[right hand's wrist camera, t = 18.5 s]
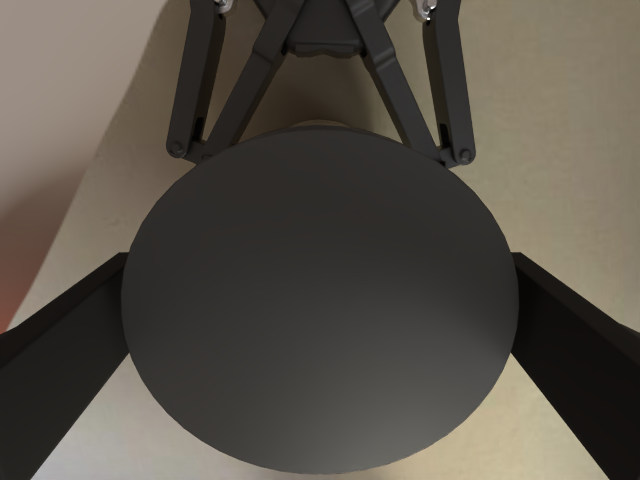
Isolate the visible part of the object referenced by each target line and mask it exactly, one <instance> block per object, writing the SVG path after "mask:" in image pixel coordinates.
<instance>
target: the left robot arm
mask: <svg viewBox="0 0 640 480" xmlns="http://www.w3.org/2000/svg"><path fill="white" fill-rule="evenodd" d="M237 1H238V0H190V6H191V15H190V21H189V26H188V31H187V36H186V42H185V47H184V52H183V57H182V63H181V68H180V73H179V79H178V84H177V89H176V94H175V100H174V105H173V110H172V115H171V121H170V126H169V131H168V136H167V142H166V149H167V152H168V153H169V154H170V155H171V156H172V157H174V158H183V159H185V160H188V161H191V162H193V163H195V164H197V165H198V164H200V163H201V162H203V161H205V160H207V159H208V158H210V157H212V156H214V155H215V154H217V153H219V152H221V151H222V150H224V149H227V148H229V147H231V146H233V145H236V144H237V143H238V141H239V140H240V138H241V136H242V134H243V132H244V130H245V129H246V127H247V125H248V123H249V121H250V119H251V118H252V116H253V114H254V112H255V110H256V108H257V106H258V105H259V103H260V101H261V99H262V97H263V95H264V94H265V92H266V90H267V88H268V86H269V84H270V83H271V81H272V79H273V77H274V75H275V73H276V72H277V70H278V69H279V68H280V66H281V65H282V63H283V61H284V59H285V57H286V56H287V54H288V52H290V53H292V54H295V55H296V56H297V57H313V56H317V55H320V54H327V55H330V56H333V57H336V58H351V57H352V56H355V55H357V54H359V55H360V57H361V59H362V61H363V63H364V65H365V67H366V69H367V71H368V72H369V73H370V75H371V77H372V79H373V81H374V84H375V86H376V88H377V90H378V92H379V94H380V96H381V98H382V100H383V102H384V104H385V107H386V109H387V111H388V113H389V115H390V117H391V119H392V121H393V123H394V125H395V128H396V130H397V132H398V134H399V136H400V138H401V140H402V142H403V144H404V145H406V146H408V147H410V148H412V149H414V150H416V151H418V152H420V153H422V154H425V155H427V156H429V157H431V158H432V159H434V160H435V161H437V162H438V163H440V164H441V165H442V166H444V167H445V168H447V169H449V168H452V167H455V166H458V165H468V164H470V163H471V162H472V161H473V160H474V158H475V156H476V150H475V142H474V135H473V128H472V120H471V113H470V106H469V98H468V91H467V84H466V76H465V69H464V62H463V54H462V47H461V39H460V32H459V25H458V15H459V9H460V4H461V0H409V1H410V3H411V4H412V7H413V15H414V17H415V19H416V20H417V21H419V22H421V23H423V44H424V50H425V56H426V62H427V68H428V74H429V80H430V86H431V92H432V98H433V104H434V110H435V116H436V122H437V128H438V134H439V140H440V146H437V147H436V145H435V143H434V141H433V138H432V136H431V134H430V132H429V130H428V127H427V125H426V123H425V121H424V118H423V116H422V114H421V112H420V110H419V107H418V105H417V103H416V101H415V98H414V96H413V94H412V92H411V89H410V87H409V85H408V83H407V81H406V78H405V76H404V74H403V72H402V69H401V67H400V65H399V63H398V60H397V58H396V53H395V49H394V46H393V44H392V41H391V39H390V37H389V35H388V33H387V30H386V28H385V26H384V22H385V21H386V20H387V18H388V17H389V15H390V14H391V13H392V11H393V10H394V8H395V7H396V6H397V4H398V3H399V2H400V0H253V1H254V3H255V4H256V6H257V7H258V9H259V11H260V12H261V14H262V15H263V17H264V18H265V20H266V22H265V24H264V26H263V27H262V29H261V31H260V33H259V35H258V37H257V39H256V41H255V43H254V46H253V50H252V53H251V56H250V58H249V60H248V61H247V63H246V65H245V67H244V69H243V71H242V73H241V75H240V77H239V79H238V81H237V83H236V85H235V87H234V89H233V91H232V93H231V95H230V97H229V98H228V100H227V102H226V104H225V106H224V108H223V110H222V112H221V114H220V116H219V118H218V120H217V122H216V124H215V126H214V128H213V130H212V132H211V133H210V135H209V137H208V139H207V141H205V140H202V136H203V131H204V127H205V122H206V118H207V113H208V109H209V104H210V100H211V95H212V91H213V86H214V82H215V77H216V73H217V68H218V63H219V59H220V54H221V50H222V45H223V41H224V36H225V28H226V17H229V16H231V15H233V14H234V12H235V10H236V6H237Z"/></svg>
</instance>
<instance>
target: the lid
mask: <svg viewBox="0 0 640 480" xmlns="http://www.w3.org/2000/svg"><path fill="white" fill-rule="evenodd" d="M518 313H519V291H518V280H517V275H516V270H515V265H514V261H513V257H512V255H511V252H510V249H509V247H508V244H507V241H506V239H505V236H504V234H503V232H502V231H501V229H500V227H499V225H498V224H497V222H496V220H495V218H494V217H493V215H492V213H491V212H490V211H489V210H488V208H487V207H486V206H485V205H484V203H483V202H482V201H481V200H480V198H479V197H478V196H477V194H476V193H475V192H474V191H473V190H472V189H471V188H469V187H468V186H467V185H466V184H465V183H464V182H463V181H462V180H461V179H460V178H459V177H458V176H456V175H455V174H454V173H453V172H451V171H450V170H448V169H447V168H445V167H444V166H442V165H441V164H440V163H438V162H437V161H435V160H434V159H432V158H431V157H429V156H427V155H425V154H422V153H420V152H418V151H416V150H414V149H412V148H410V147H408V146H406V145H404V144H402V143H400V142H397V141H395V140H393V139H390V138H388V137H385V136H382V135H379V134H375V133H372V132H369V131H366V130H361V129H356V128H350V127H344V126H335V125H306V126H296V127H287V128H283V129H279V130H275V131H271V132H267V133H263V134H260V135H258V136H255V137H253V138H250V139H248V140H245V141H243V142H240V143H238V144H236V145H233V146H231V147H229V148H227V149H224V150H222V151H221V152H219V153H217V154H215V155H214V156H212V157H210V158H208V159H207V160H205V161H203V162H201V163H200V164H198V165H197V166H195V167H194V168H193V169H191V170H190V171H189V172H188V173H186V174H185V175H184V176H182V177H181V178H180V179H179V180H177V181H176V182H175V183H174V184H173V185H172V186H171V187H170V188H169V189H168V190H167V191H166V193H165V194H164V195H163V196H162V197H161V198H160V199H159V200H158V201H157V202H156V204H155V205H154V206H153V208H152V209H151V211H150V212H149V214H148V215H147V217H146V218H145V220H144V221H143V222H142V224H141V226H140V228H139V230H138V232H137V234H136V237H135V239H134V241H133V243H132V245H131V247H130V251H129V254H128V257H127V261H126V264H125V267H124V272H123V280H122V287H121V318H122V324H123V330H124V336H125V340H126V343H127V346H128V349H129V352H130V355H131V358H132V361H133V363H134V365H135V367H136V369H137V371H138V373H139V375H140V377H141V379H142V381H143V382H144V384H145V385H146V387H147V388H148V390H149V391H150V393H151V394H152V396H153V397H154V398H155V399H156V401H157V402H158V403H159V404H160V405H161V406H162V407H163V409H164V410H165V411H166V412H167V413H168V414H169V415H170V416H171V417H172V418H173V419H174V420H175V421H177V422H178V423H179V424H180V425H181V426H182V427H183V428H184V429H186V430H187V431H189V432H190V433H191V434H193V435H194V436H195V437H197V438H198V439H200V440H201V441H203V442H204V443H206V444H208V445H210V446H211V447H213V448H215V449H217V450H218V451H220V452H223V453H225V454H227V455H229V456H232V457H234V458H236V459H239V460H241V461H244V462H247V463H250V464H254V465H257V466H260V467H264V468H268V469H273V470H278V471H283V472H291V473H299V474H323V475H325V474H340V473H350V472H356V471H362V470H368V469H372V468H375V467H379V466H383V465H387V464H390V463H393V462H395V461H398V460H401V459H403V458H406V457H409V456H411V455H413V454H415V453H417V452H419V451H421V450H423V449H425V448H427V447H429V446H430V445H432V444H434V443H435V442H437V441H438V440H440V439H441V438H443V437H445V436H446V435H447V434H449V433H450V432H451V431H453V430H454V429H455V428H456V427H458V426H459V425H460V424H461V423H463V422H464V421H465V420H466V419H467V418H468V417H469V416H470V415H471V414H472V413H473V412H474V411H475V410H476V409H477V408H478V407H479V405H480V404H481V403H482V401H483V400H484V399H485V398H486V396H487V395H488V394H489V392H490V391H491V390H492V388H493V386H494V385H495V383H496V381H497V380H498V378H499V376H500V375H501V373H502V371H503V369H504V367H505V364H506V362H507V359H508V357H509V355H510V352H511V350H512V346H513V342H514V338H515V334H516V330H517V323H518Z"/></svg>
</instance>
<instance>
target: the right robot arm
mask: <svg viewBox="0 0 640 480" xmlns="http://www.w3.org/2000/svg"><path fill="white" fill-rule="evenodd" d="M128 254H129V252H119V253H118V254H116V255H115V256H114V257H112V258H111V259H109V260H108V261H107V262H105V263H104V264H103V265H101V266H100V267H98V268H97V269H96V270H94V271H93V272H91V273H90V274H89V275H87V276H86V277H85V278H83V279H82V280H80V281H79V282H78V283H76V284H75V285H73V286H72V287H71V288H69V289H68V290H67V291H65V292H64V293H62V294H61V295H60V296H58V297H57V298H55V299H54V300H53V301H51V302H50V303H49V304H47V305H46V306H44V307H43V308H42V309H40V310H39V311H37V312H36V313H35V314H33V315H32V316H31V317H29V318H28V319H26V320H25V321H24V322H22V323H21V324H19V325H18V326H17V327H15V328H13V329H11V330H9V331H6V332H4V333H2V334H0V480H30V479H31V478H32V477H33V476H34V474H35V473H36V472H37V470H38V469H39V468H40V467H41V465H42V464H43V463H44V461H45V460H46V459H47V458H48V456H49V455H50V454H51V452H52V451H53V450H54V449H55V447H56V446H57V445H58V443H59V442H60V441H61V440H62V438H63V437H64V436H65V434H66V433H67V432H68V431H69V429H70V428H71V427H72V425H73V424H74V423H75V422H76V420H77V419H78V418H79V416H80V415H81V414H82V413H83V411H84V410H85V409H86V407H87V406H88V405H89V404H90V402H91V401H92V400H93V398H94V397H95V396H96V395H97V393H98V392H99V391H100V389H101V388H102V387H103V386H104V384H105V383H106V382H107V380H108V379H109V378H110V377H111V375H112V374H113V373H114V371H115V370H116V369H117V368H118V366H119V365H120V364H121V362H122V361H123V360H124V359H125V357H126V356H127V355H128V353H129V349H128V346H127V343H126V340H125V336H124V330H123V324H122V318H121V287H122V280H123V272H124V267H125V264H126V261H127V257H128ZM511 255H512V257H513V261H514V265H515V270H516V275H517V280H518V291H519V313H518V323H517V330H516V334H515V338H514V342H513V346H512V350H511V353H512V355H513V356H514V357H515V359H516V360H517V361H518V362H519V364H520V365H521V366H522V368H523V369H524V370H525V371H526V373H527V374H528V375H529V377H530V378H531V379H532V380H533V382H534V383H535V384H536V386H537V387H538V388H539V389H540V391H541V392H542V393H543V395H544V396H545V397H546V398H547V400H548V401H549V402H550V404H551V405H552V406H553V407H554V409H555V410H556V411H557V413H558V414H559V415H560V416H561V418H562V419H563V420H564V422H565V423H566V424H567V425H568V427H569V428H570V429H571V431H572V432H573V433H574V434H575V436H576V437H577V438H578V440H579V441H580V442H581V443H582V445H583V446H584V447H585V449H586V450H587V451H588V452H589V454H590V455H591V456H592V458H593V459H594V460H595V461H596V463H597V464H598V465H599V467H600V468H601V469H602V470H603V472H604V473H605V474H606V476H607V477H608V478H609V479H610V480H640V333H639V332H637V331H635V330H633V329H631V328H628V327H626V326H624V325H622V324H619V323H618V322H616V321H615V320H614V319H612V318H611V317H609V316H608V315H607V314H605V313H604V312H603V311H601V310H600V309H598V308H597V307H596V306H594V305H593V304H591V303H590V302H589V301H587V300H586V299H585V298H583V297H582V296H580V295H579V294H578V293H576V292H575V291H573V290H572V289H571V288H569V287H568V286H567V285H565V284H564V283H562V282H561V281H560V280H558V279H557V278H555V277H554V276H553V275H551V274H550V273H549V272H547V271H546V270H544V269H543V268H542V267H540V266H539V265H537V264H536V263H535V262H533V261H532V260H531V259H529V258H528V257H526V256H525V255H524V254H522V253H521V252H511Z"/></svg>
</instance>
